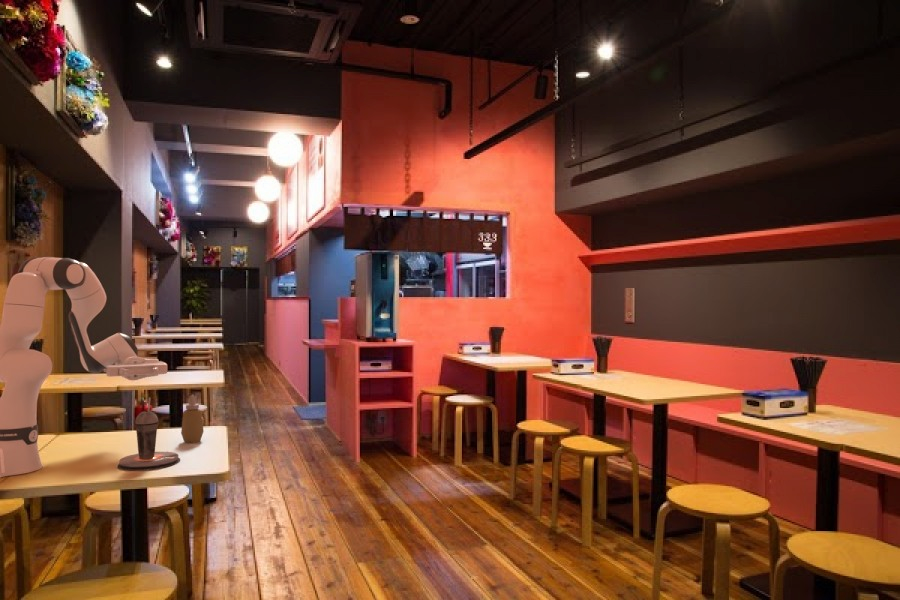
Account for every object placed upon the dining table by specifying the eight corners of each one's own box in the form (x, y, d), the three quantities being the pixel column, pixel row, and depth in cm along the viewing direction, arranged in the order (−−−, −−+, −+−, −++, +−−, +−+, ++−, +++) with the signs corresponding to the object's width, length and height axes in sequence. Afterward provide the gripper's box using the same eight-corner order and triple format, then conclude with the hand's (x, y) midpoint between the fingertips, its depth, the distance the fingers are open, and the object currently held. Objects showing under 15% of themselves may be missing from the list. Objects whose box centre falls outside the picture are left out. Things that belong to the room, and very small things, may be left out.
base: (104, 470, 202) (104, 469, 202) (137, 456, 221) (137, 455, 221) (162, 471, 201) (162, 470, 201) (190, 456, 220) (190, 455, 220)
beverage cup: (129, 458, 209) (129, 398, 209) (148, 454, 215) (148, 395, 215) (144, 461, 206) (144, 400, 206) (163, 456, 212) (163, 397, 212)
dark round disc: (107, 468, 202) (107, 464, 202) (138, 454, 220) (138, 450, 220) (161, 468, 201) (161, 464, 201) (188, 455, 219) (188, 451, 219)
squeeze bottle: (176, 443, 241) (176, 396, 241) (190, 438, 249) (190, 393, 249) (194, 444, 239) (194, 397, 239) (208, 440, 246) (208, 394, 247)
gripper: (102, 361, 231) (109, 363, 220) (162, 358, 244) (171, 361, 233) (102, 378, 231) (108, 381, 220) (161, 375, 244) (171, 378, 233)
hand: (141, 371), depth 227 cm, fingers open, 8 cm apart
